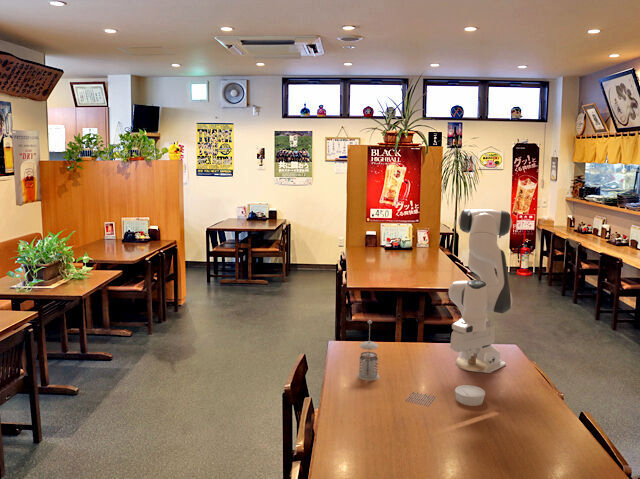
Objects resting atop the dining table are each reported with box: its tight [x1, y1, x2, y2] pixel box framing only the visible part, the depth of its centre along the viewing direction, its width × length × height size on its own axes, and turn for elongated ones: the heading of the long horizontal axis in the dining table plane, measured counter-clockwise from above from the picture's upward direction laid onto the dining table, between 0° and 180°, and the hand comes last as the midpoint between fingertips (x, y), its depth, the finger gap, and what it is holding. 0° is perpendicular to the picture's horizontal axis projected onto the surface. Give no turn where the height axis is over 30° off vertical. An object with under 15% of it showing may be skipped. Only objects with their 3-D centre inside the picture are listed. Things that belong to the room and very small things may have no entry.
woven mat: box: [406, 391, 436, 407], centre depth 217 cm, size 10×11×2 cm
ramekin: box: [454, 384, 486, 407], centre depth 217 cm, size 11×11×5 cm
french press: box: [356, 319, 380, 382], centre depth 239 cm, size 10×12×25 cm
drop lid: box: [455, 354, 488, 372], centre depth 214 cm, size 12×12×4 cm
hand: (472, 358), depth 214 cm, fingers closed on drop lid, 3 cm apart
